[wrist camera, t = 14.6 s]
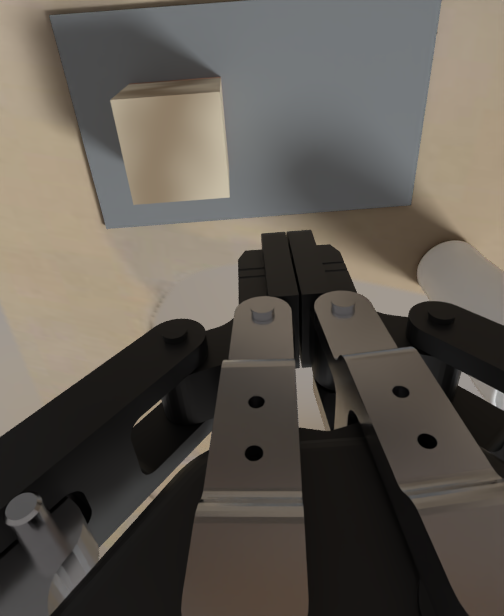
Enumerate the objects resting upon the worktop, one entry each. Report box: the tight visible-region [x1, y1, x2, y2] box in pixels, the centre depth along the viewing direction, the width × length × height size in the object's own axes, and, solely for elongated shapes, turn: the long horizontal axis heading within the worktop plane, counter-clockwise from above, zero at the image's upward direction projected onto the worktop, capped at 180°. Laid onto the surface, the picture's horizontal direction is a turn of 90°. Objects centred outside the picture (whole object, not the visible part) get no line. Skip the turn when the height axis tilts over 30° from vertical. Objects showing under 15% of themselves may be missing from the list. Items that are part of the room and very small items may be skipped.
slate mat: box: [49, 0, 442, 229], centre depth 31 cm, size 24×14×1 cm, turn 93°
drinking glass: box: [417, 240, 504, 411], centre depth 33 cm, size 7×7×15 cm
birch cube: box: [110, 77, 230, 205], centre depth 28 cm, size 6×6×6 cm
